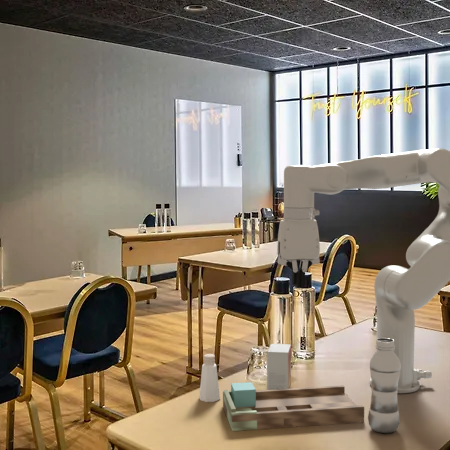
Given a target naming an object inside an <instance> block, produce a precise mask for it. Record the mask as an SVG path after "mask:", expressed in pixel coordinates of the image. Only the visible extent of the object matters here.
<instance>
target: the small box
mask: <svg viewBox="0 0 450 450" xmlns="http://www.w3.org/2000/svg"><path fill="white" fill-rule="evenodd" d="M266 383H267V384H266V385H267V387H266V388H267V389H266V390H273V389H290V388H291V383H292V344H287V343H270V345H269V347H268V349H267V351H266Z"/></svg>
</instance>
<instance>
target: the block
mask: <svg viewBox="0 0 450 450" xmlns="http://www.w3.org/2000/svg"><path fill="white" fill-rule="evenodd" d="M230 390H231V399H232V401H233V403H234V406H235V408H236V407H252V406H256V391H257V390H256V387H255V386H254V383H253V381H252V382H250V381H249V382H231V383H230Z"/></svg>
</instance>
